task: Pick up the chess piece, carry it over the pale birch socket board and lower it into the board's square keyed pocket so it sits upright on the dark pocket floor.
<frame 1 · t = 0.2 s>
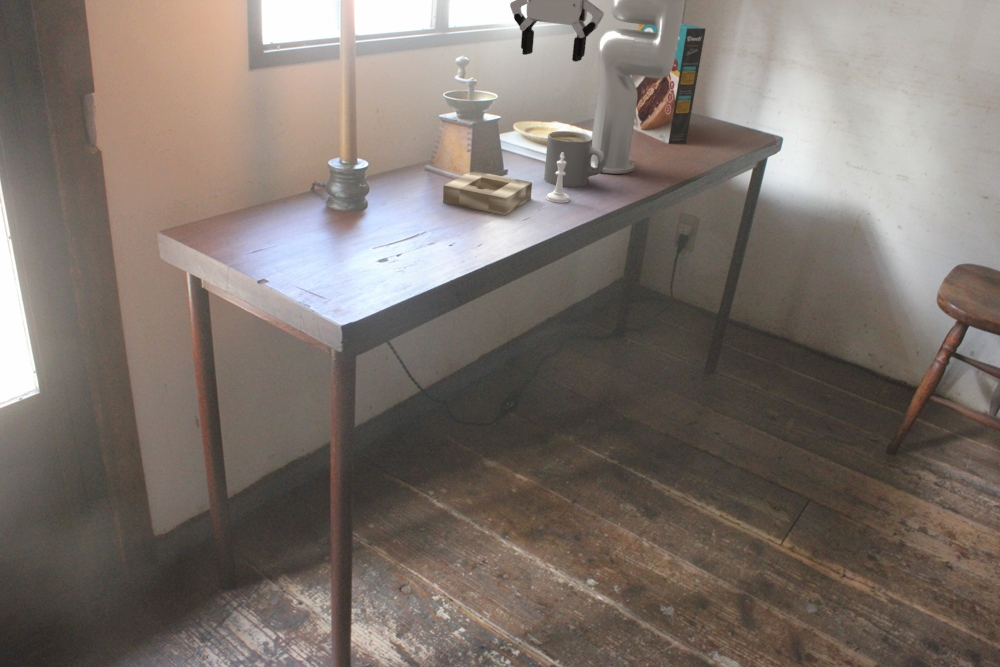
hand: (551, 57, 142), 30 cm above the table, fingers open, 9 cm apart
cake mix box: (654, 134, 228), on the table
coffee mug: (572, 182, 180), on the table
chess piece: (557, 200, 168), on the table
socket board: (487, 200, 164), on the table
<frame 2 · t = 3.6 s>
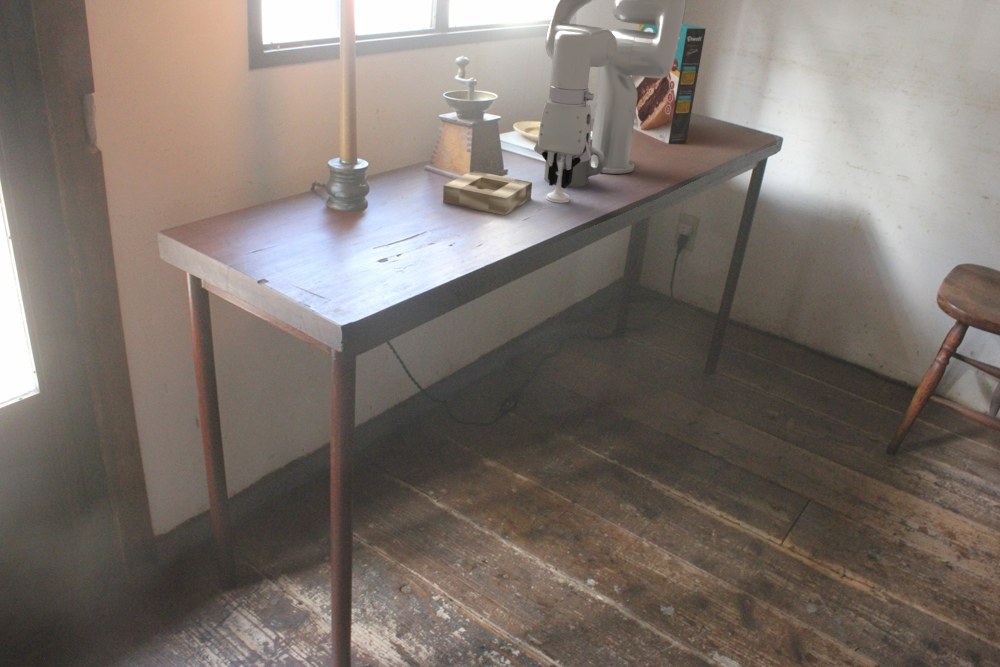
hand: (559, 184, 166), 3 cm above the table, fingers closed on chess piece
chess piece: (557, 200, 168), on the table, touching gripper
everything else where it was.
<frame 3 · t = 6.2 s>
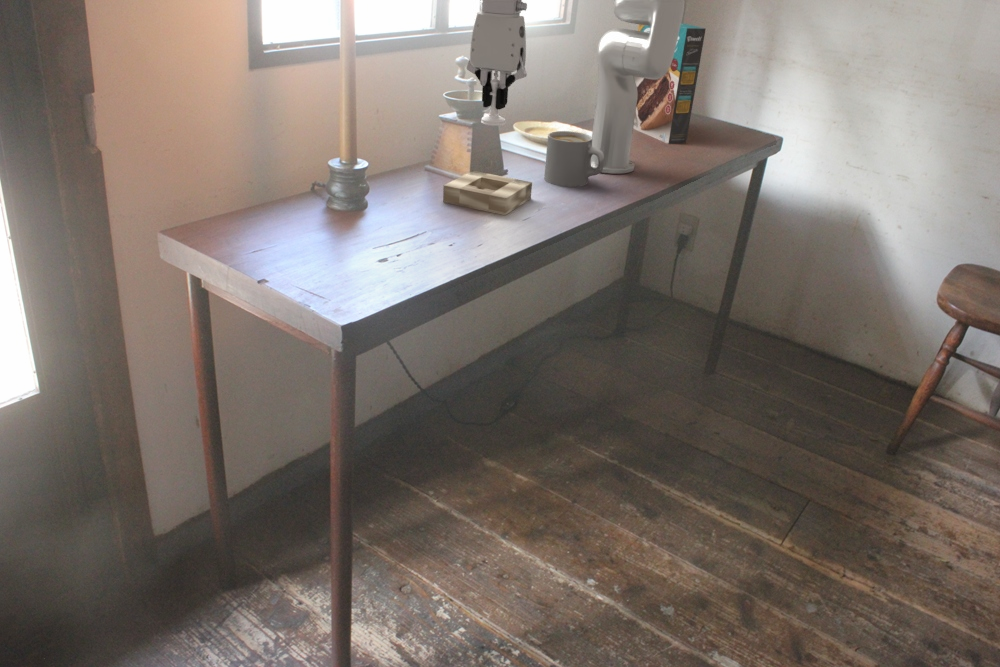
hand: (494, 106, 155), 19 cm above the table, fingers closed on chess piece
chess piece: (493, 123, 157), point 16 cm above the table, touching gripper
everything else where it was.
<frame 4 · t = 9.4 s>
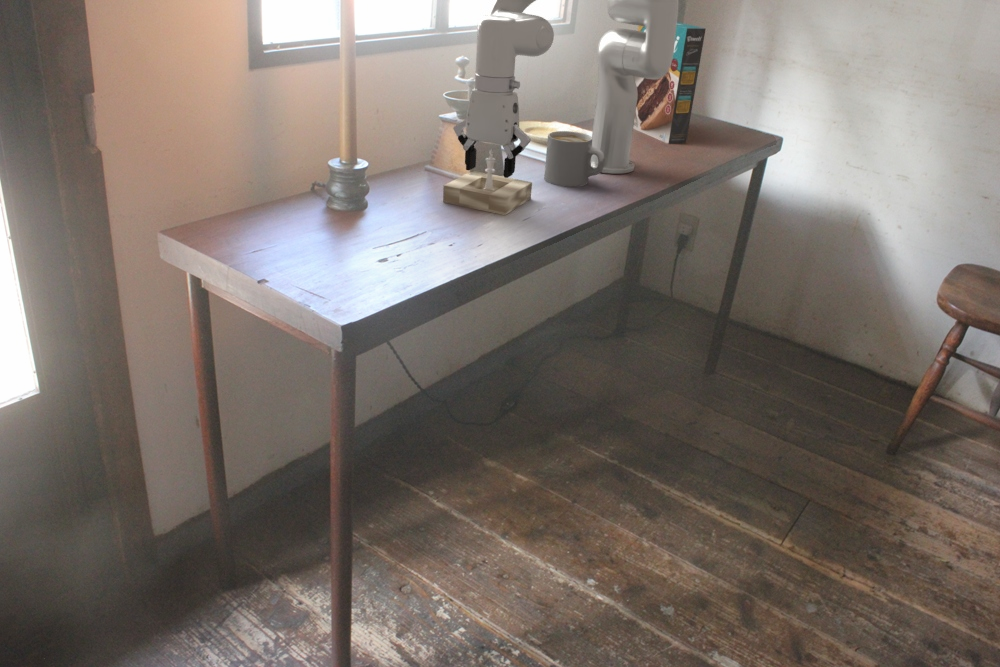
hand: (489, 172, 161), 6 cm above the table, fingers open, 8 cm apart
chess piece: (488, 198, 164), resting on socket board
everything else where it was.
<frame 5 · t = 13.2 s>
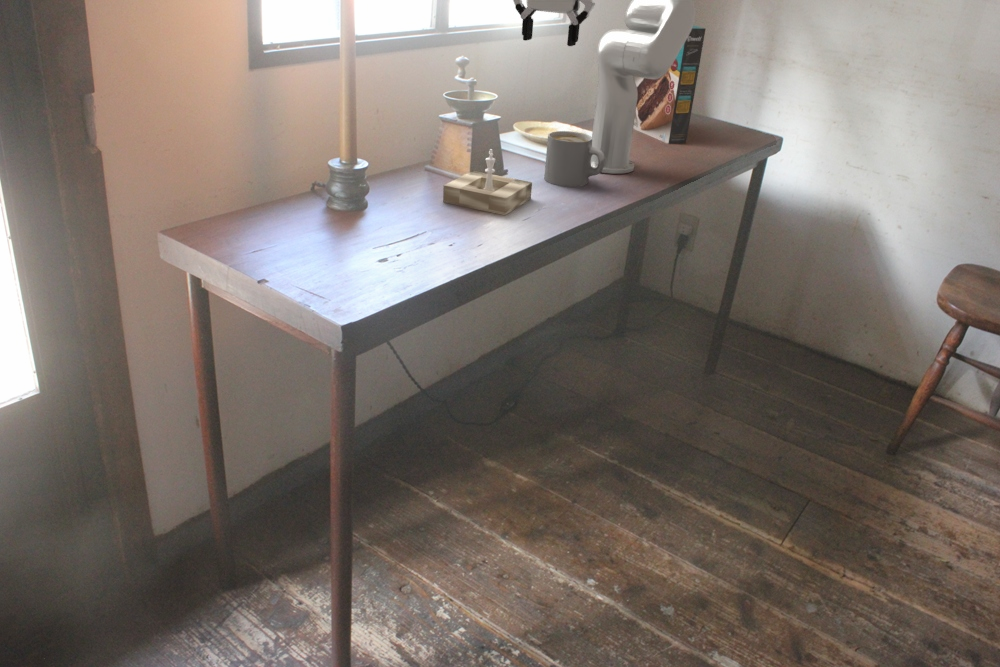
hand: (549, 42, 160), 30 cm above the table, fingers open, 9 cm apart
nothing on the table moved.
at the end: chess piece 0.1 cm off-centre on the socket board, point 0.4 cm above the socket board's base; chess piece tilted 0°; the gripper is holding nothing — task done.
